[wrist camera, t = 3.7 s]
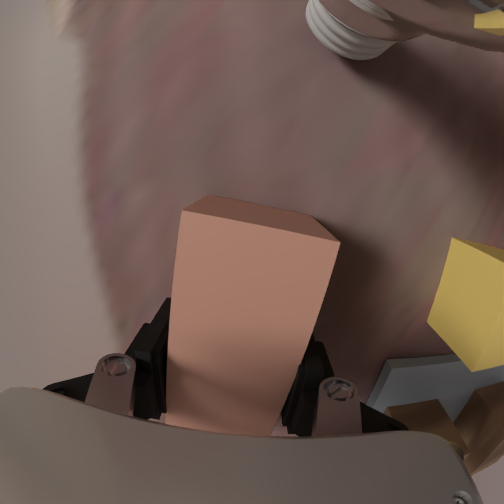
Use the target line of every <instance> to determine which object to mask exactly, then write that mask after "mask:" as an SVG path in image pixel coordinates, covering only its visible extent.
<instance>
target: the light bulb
mask: <svg viewBox="0 0 504 504" xmlns="http://www.w3.org/2000/svg"><path fill="white" fill-rule="evenodd" d="M306 19H307V22H308V25H309V27H310V29H311V31H312V32H313V34H314V35H315V37H316V38H317V39H318V40H319V41H320V42H321V43H322V44H323V45H324V46H325V47H327V48H328V49H329V50H331V51H333V52H334V53H336V54H338V55H341V56H343V57H346V58H349V59H354V60H368V59H373V58H375V57H377V56H379V55H381V54H382V53H383V52H384V51H385V50H387V49H388V48H389V47H390V46H391V45H393V44H395V43H396V42H397V41H406V40H410V39H413V38H417V37H420V36H422V35H425V34H427V35H431V36H435V37H438V38H441V39H445V40H449V41H452V42H456V43H460V44H463V45H467V46H471V47H475V48H478V49H482V50H485V51H494V52H503V53H504V0H309V2H308V4H307V7H306Z"/></svg>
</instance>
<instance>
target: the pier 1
mask: <svg viewBox="0 0 504 504" xmlns="http://www.w3.org/2000/svg"><path fill="white" fill-rule="evenodd" d="M383 414H385V415H387V416H389V417H391V418H393V419H395V420H397V421H400V422H401V423H403V424H405V425H406V426H407V428H408V429H409V431H420V432H427V433H432V434H435V435H438V436H440V437H442V438H444V439H445V440H447V441H451V442H454V443H456V444H458V445H459V446H460V447H461V448H462V450H463V452H464V459H465V458H466V457H467V456H468V455H469V454H470V453H471V452H470V451H469V449H468V447H467V446H466V444H465V442H464V440H463V439H462V437H461V435H460V434H459V432H458V430H457V429H456V427H455V425H454V424H453V422H452V421H451V419H450V417H449V416H448V414H447V413H446V411H445V409H444V408H443V406H442V405H441V403H440V402H439V400H438V399H433V400H428V401H422V402H417V403H411V404H404V405H397V406H390V407H387V408H386V410H385V411H384V413H383Z"/></svg>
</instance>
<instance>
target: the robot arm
mask: <svg viewBox="0 0 504 504" xmlns="http://www.w3.org/2000/svg"><path fill="white" fill-rule="evenodd" d="M170 308H171V298H168V297H167V298H166V299H165V301H164V303H163V304H162V306H161V307H160V309H159V311H158V312H157V314H156V315H155V317H154V319H153V320H152V322H151V323H150V324H149V323H144V324H143V326H142V327H141V329H140V330H139V332H138V334H137V335H136V337H135V338H134V340H133V341H132V343H131V344H130V346H129V348H128V349H127V351H126V352H125V354H121V353H113V354H108V355H106V356H104V357H102V358H101V359H100V360H99V362H98V363H97V366H96V369H95V371H94V373H92V374H88V375H85V376H81V377H77V378H73V379H70V380H65V381H61V382H57V383H53V384H51V385H48V386H46V387H45V388H43V389H38V388H30V387H11V388H8V389H5V390H3V391H1V392H0V504H484V503H483V501H482V499H481V496H480V494H479V492H478V489H477V487H476V485H475V483H474V481H473V479H472V477H471V475H470V473H469V471H468V470H467V468H466V466H465V464H464V463H463V461H464V452H463V450H462V448H461V447H460V446H459V445H458V444H456V443H454V442H451V441H447V440H445V439H444V438H442V437H440V436H438V435H435V434H432V433H427V432H420V431H409V429H408V428H407V426H406V425H405V424H403V423H401V422H400V421H397V420H395V419H393V418H391V417H389V416H387V415H385V414H383V413H381V412H379V411H377V410H375V409H373V408H371V407H369V406H367V405H366V404H364V403H362V402H360V399H359V391H358V388H357V387H356V386H355V384H353V383H352V382H351V381H349V380H347V379H344V378H340V377H335V376H334V373H333V370H332V367H331V364H330V362H329V359H328V356H327V353H326V350H325V347H324V345H323V343H322V342H315V339H314V336H313V333H312V334H311V337H310V340H309V343H308V345H307V348H306V351H305V353H304V356H303V359H302V361H301V364H300V365H299V366H298V370H297V373H296V377H295V379H294V382H293V384H292V387H291V389H290V392H289V394H288V396H287V399H286V401H285V403H284V406H283V408H282V410H281V415H282V425H283V426H287V430H288V434H296V435H298V436H299V437H280V436H256V435H242V434H231V433H221V432H213V431H205V430H198V429H192V428H185V427H180V426H174V425H169V424H164V423H159V422H154V421H150V420H147V419H150V418H153V419H158V420H159V419H160V416H161V413H166V412H167V407H166V377H167V353H168V336H169V321H170Z"/></svg>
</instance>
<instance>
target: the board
mask: <svg viewBox="0 0 504 504" xmlns="http://www.w3.org/2000/svg"><path fill="white" fill-rule="evenodd" d="M501 381H504V365H500V366H496V367H492V368H488V369H484V370H479V371H475V372H471V371H470V370H469V368H468V367H467V366H466V365H465V364H464V363H463V361H462V360H461V359H460V358H459V357H458V356H457V355H456V354H448V355H439V356H429V357H417V358H403V359H386V362H385V364H384V366H383V369H382V371H381V373H380V375H379V378H378V380H377V382H376V384H375V386H374V388H373V391H372V393H371V395H370V397H369V399H368V401H367V403H366V405H367V406H369V407H371V408H373V409H375V410H377V411H379V412H381V413H384V411H385V410H386V408H387V407H390V406H397V405H404V404H411V403H417V402H422V401H428V400H433V399H438V400H439V402H440V403H441V405H442V406H443V408H444V409H445V411H446V413H447V414H448V416H449V417H450V419H451V421H452V422H454V420H455V419H456V418H457V416H458V415H459V413H460V412H461V411H462V409H463V408H464V406H465V405H466V403H467V402H468V400H469V399H470V397H471V395H472V394H473V392H474V391H475V389H479V388H482V387H485V386H489V385H492V384H495V383H498V382H501Z"/></svg>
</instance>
